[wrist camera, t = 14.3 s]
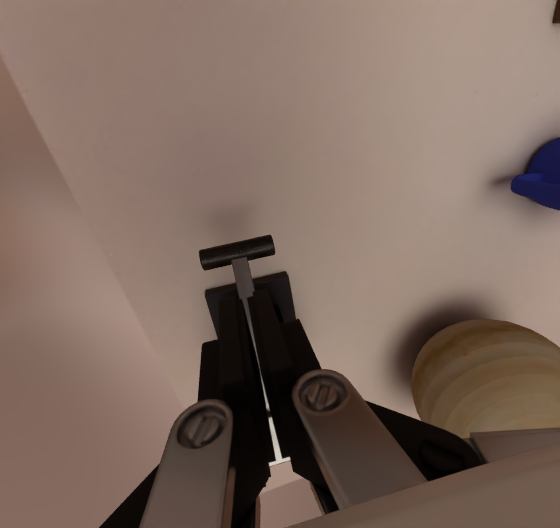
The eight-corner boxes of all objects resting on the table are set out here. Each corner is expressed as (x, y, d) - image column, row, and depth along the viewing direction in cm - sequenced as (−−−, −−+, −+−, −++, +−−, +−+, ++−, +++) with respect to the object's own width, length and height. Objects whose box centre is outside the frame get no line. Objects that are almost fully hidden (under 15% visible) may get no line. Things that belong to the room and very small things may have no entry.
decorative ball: (481, 387, 42) (609, 506, 28) (379, 404, 39) (465, 543, 26) (510, 288, 36) (687, 376, 23) (394, 300, 34) (513, 407, 20)
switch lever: (202, 253, 22) (196, 247, 20) (269, 238, 23) (271, 230, 20) (246, 455, 21) (244, 474, 18) (317, 434, 21) (325, 450, 19)
